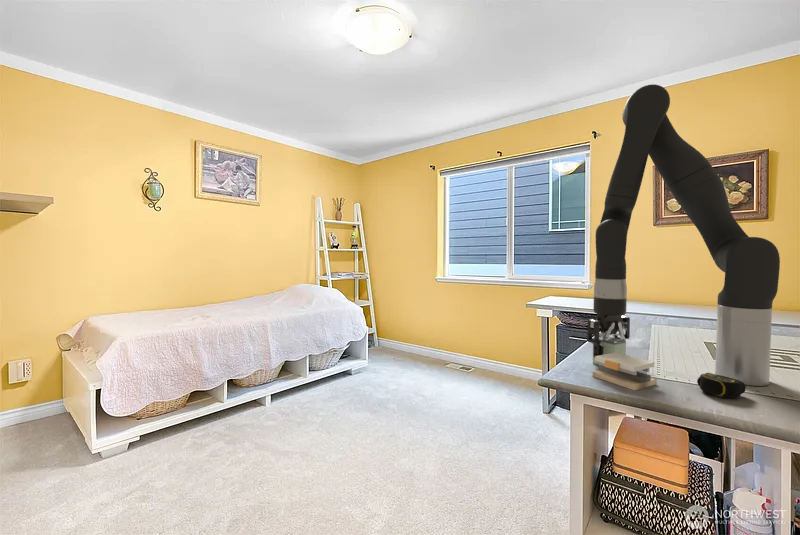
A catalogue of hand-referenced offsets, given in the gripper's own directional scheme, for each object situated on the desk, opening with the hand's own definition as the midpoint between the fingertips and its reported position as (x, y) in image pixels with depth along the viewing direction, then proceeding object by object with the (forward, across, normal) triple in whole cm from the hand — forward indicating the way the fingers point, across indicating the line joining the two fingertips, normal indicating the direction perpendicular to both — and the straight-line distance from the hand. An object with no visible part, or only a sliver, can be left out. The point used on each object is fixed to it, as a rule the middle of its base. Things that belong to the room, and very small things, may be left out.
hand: (608, 356), depth 96 cm
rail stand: (+2, -8, -9) cm, 12 cm away
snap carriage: (-1, -8, -9) cm, 12 cm away
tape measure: (+2, +3, -23) cm, 23 cm away
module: (+2, 0, 0) cm, 2 cm away
